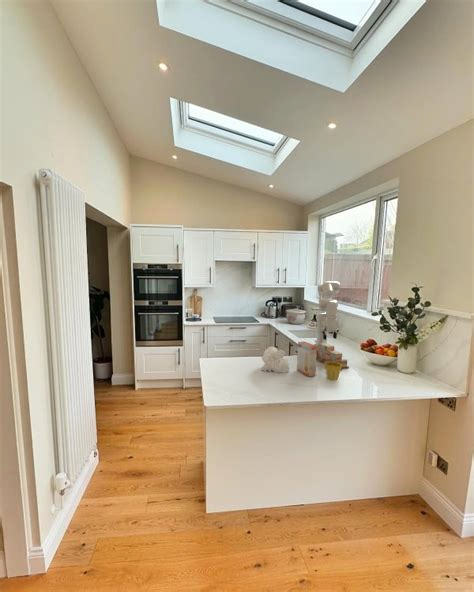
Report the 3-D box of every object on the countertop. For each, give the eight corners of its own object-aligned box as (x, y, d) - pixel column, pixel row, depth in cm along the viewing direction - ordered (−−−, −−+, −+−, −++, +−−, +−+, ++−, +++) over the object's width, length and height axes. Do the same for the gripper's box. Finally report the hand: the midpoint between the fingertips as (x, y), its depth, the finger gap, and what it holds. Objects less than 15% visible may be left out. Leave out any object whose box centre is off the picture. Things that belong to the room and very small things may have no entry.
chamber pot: (306, 326, 375) (307, 309, 373) (284, 324, 379) (285, 308, 377) (305, 322, 402) (306, 307, 400) (285, 321, 407) (285, 306, 405)
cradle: (310, 357, 238) (310, 350, 238) (321, 356, 243) (322, 349, 243) (336, 370, 211) (336, 361, 210) (348, 368, 216) (349, 359, 215)
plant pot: (338, 382, 187) (339, 367, 186) (322, 379, 193) (323, 364, 192) (342, 377, 196) (343, 363, 195) (326, 374, 202) (327, 360, 201)
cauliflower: (299, 360, 201) (276, 346, 196) (284, 386, 199) (260, 372, 195) (288, 354, 219) (267, 340, 215) (274, 377, 217) (252, 364, 213)
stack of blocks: (341, 365, 218) (342, 349, 216) (334, 366, 215) (335, 349, 214) (323, 357, 237) (324, 342, 236) (317, 357, 235) (318, 342, 234)
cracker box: (315, 376, 198) (317, 345, 196) (308, 377, 195) (310, 346, 193) (303, 369, 210) (304, 340, 208) (296, 370, 208) (297, 341, 206)
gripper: (336, 315, 231) (335, 336, 233) (318, 316, 224) (317, 338, 226) (343, 317, 224) (342, 339, 226) (325, 318, 217) (324, 341, 219)
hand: (329, 338), depth 226 cm, fingers open, 9 cm apart
